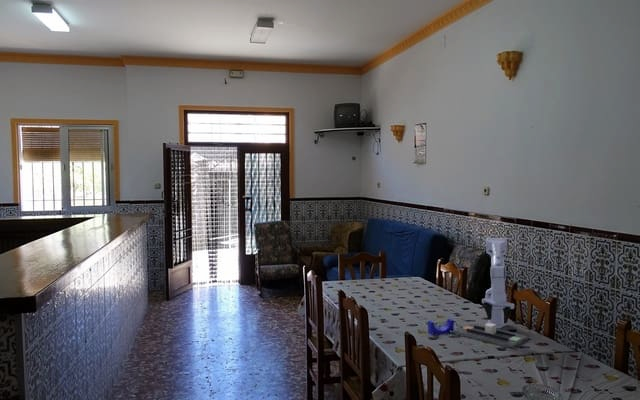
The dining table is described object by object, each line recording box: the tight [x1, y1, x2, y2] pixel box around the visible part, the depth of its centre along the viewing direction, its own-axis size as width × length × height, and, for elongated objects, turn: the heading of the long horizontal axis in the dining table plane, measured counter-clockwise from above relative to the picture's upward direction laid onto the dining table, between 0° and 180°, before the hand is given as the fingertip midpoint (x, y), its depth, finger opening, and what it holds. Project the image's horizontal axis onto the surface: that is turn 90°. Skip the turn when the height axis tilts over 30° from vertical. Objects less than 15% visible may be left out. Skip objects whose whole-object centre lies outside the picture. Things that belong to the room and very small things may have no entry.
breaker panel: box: [454, 323, 529, 349], centre depth 233 cm, size 16×28×2 cm, turn 46°
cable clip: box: [427, 318, 455, 336], centre depth 240 cm, size 12×4×6 cm, turn 106°
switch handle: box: [484, 323, 497, 334], centre depth 233 cm, size 5×3×4 cm, turn 136°
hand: (497, 321), depth 227 cm, fingers open, 7 cm apart
